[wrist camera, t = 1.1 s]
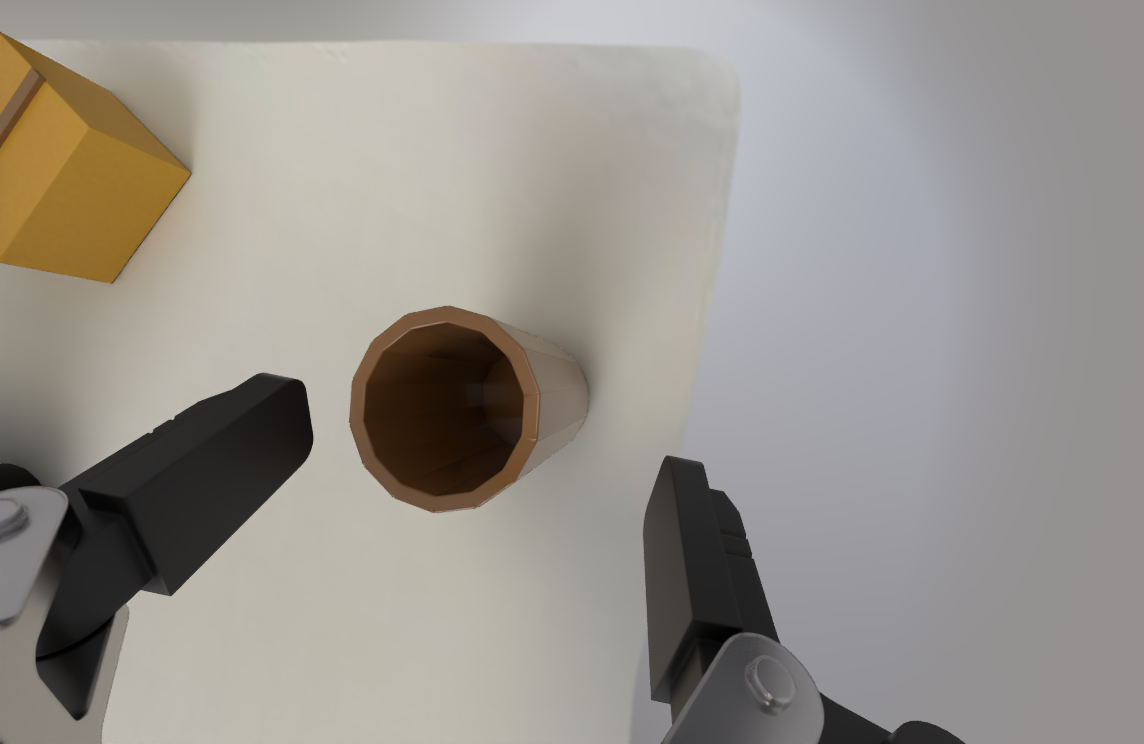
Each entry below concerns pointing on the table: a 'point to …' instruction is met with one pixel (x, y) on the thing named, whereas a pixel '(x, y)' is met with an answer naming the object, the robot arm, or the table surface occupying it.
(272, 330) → the table surface
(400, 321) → the cup
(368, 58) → the table surface
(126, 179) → the box
